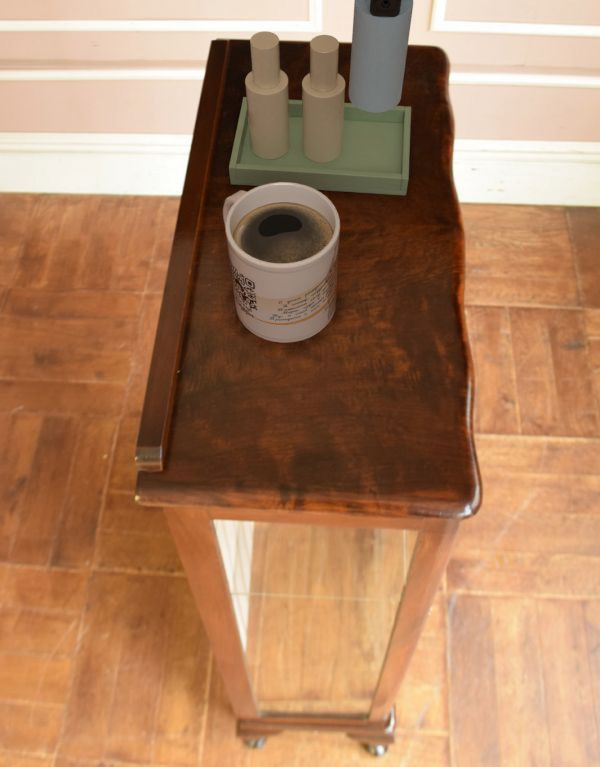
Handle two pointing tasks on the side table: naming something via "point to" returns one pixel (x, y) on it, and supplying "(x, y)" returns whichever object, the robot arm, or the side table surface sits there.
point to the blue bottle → (378, 57)
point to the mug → (283, 259)
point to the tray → (346, 173)
